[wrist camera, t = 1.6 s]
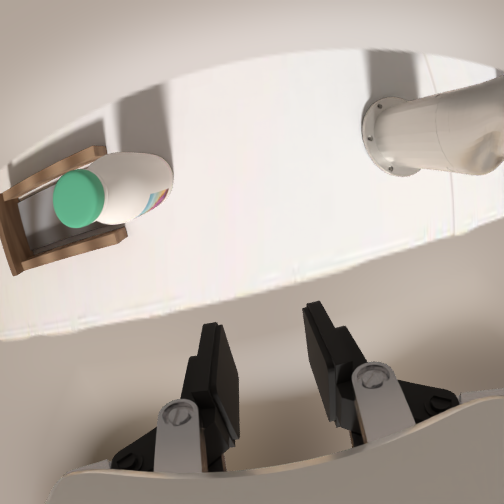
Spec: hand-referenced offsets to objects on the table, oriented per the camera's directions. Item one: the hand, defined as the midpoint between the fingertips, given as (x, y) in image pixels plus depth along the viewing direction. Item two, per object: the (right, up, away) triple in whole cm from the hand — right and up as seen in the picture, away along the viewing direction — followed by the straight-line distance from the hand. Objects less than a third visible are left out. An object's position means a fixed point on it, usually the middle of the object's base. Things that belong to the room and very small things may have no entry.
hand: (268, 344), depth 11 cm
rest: (-31, +10, +26) cm, 42 cm away
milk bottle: (-15, +14, +26) cm, 33 cm away
